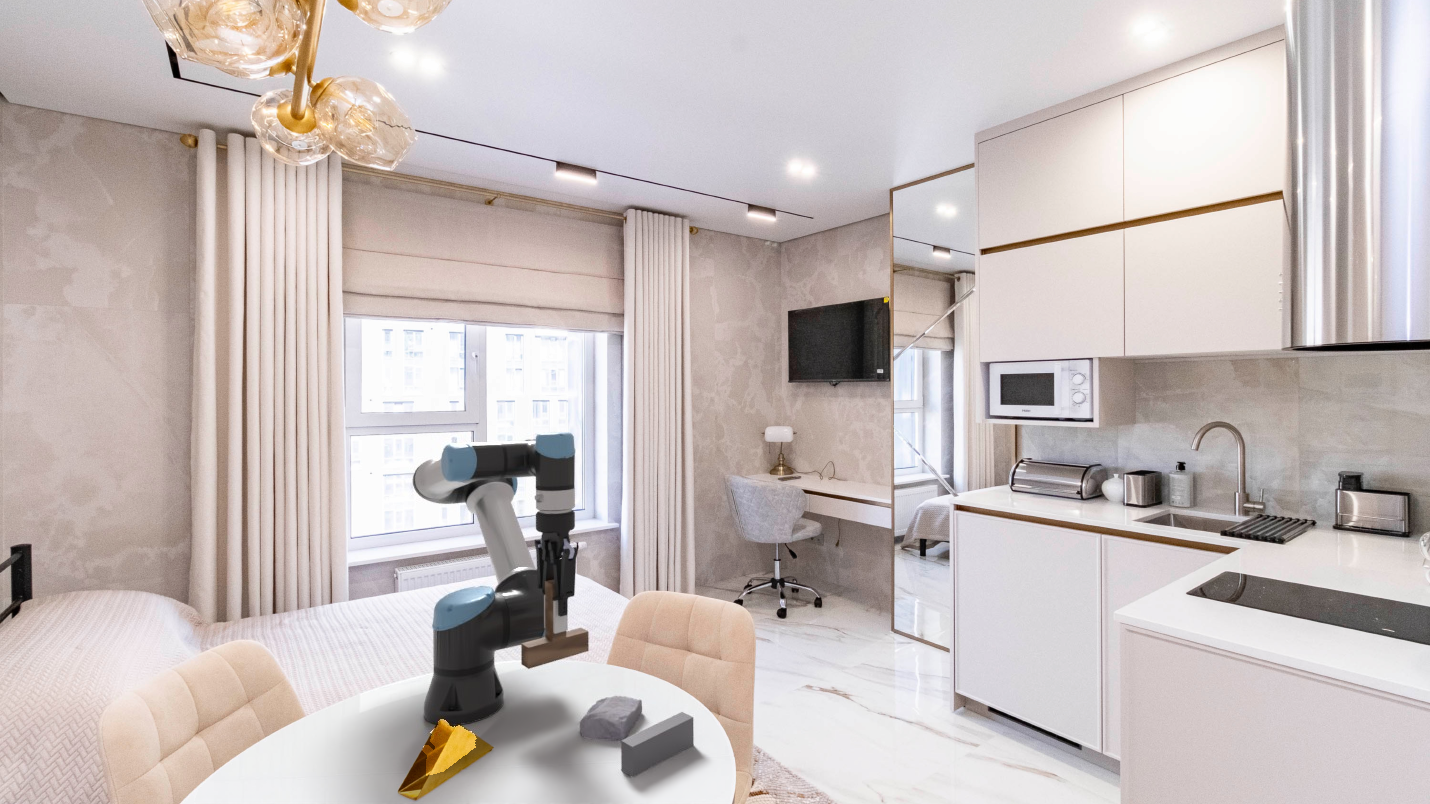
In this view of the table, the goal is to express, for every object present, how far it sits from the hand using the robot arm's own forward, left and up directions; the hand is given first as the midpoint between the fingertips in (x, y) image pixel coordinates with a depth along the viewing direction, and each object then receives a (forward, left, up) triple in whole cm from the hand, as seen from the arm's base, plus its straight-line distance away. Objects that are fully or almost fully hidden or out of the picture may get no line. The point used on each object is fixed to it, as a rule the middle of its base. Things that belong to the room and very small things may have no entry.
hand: (555, 628), depth 127 cm
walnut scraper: (0, 0, -6) cm, 6 cm away
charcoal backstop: (+26, +4, -17) cm, 31 cm away
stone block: (+10, +6, -18) cm, 21 cm away
